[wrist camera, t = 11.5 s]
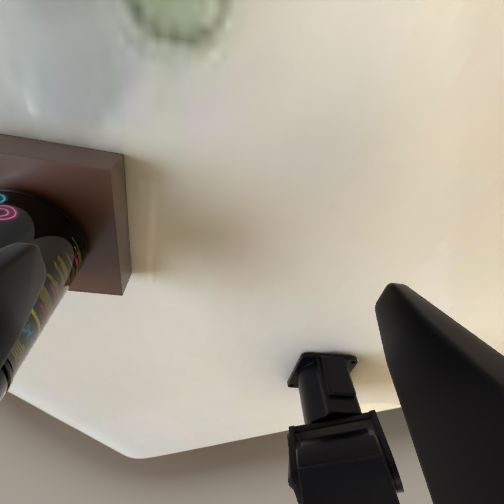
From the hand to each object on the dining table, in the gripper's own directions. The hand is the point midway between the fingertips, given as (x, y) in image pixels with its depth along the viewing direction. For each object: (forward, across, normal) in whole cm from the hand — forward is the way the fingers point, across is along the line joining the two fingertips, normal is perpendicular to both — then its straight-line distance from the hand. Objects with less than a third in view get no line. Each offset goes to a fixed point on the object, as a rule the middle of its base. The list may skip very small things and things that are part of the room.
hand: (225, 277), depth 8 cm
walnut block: (+13, +12, +7) cm, 19 cm away
